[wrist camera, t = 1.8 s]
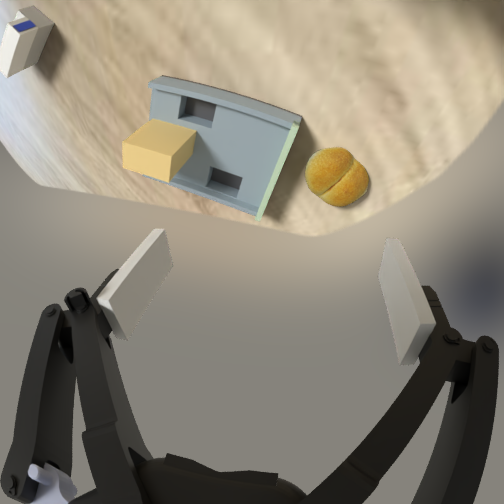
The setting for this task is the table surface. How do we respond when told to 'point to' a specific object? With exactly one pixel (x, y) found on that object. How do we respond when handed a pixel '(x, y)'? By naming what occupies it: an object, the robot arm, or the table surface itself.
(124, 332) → the robot arm
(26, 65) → the foam block
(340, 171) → the bread roll
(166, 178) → the ochre block
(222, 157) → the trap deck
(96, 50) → the table surface
